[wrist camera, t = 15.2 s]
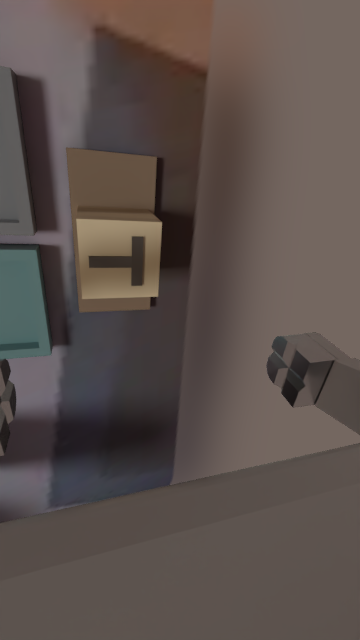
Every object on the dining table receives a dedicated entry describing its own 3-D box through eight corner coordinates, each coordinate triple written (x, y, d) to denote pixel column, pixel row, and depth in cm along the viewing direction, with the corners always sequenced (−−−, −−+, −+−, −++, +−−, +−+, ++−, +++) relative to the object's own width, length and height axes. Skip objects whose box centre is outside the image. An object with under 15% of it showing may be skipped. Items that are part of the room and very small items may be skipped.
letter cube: (77, 205, 21) (76, 219, 17) (147, 209, 22) (162, 222, 18) (82, 272, 23) (82, 300, 19) (145, 272, 25) (158, 297, 20)
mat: (66, 147, 20) (66, 147, 19) (155, 156, 21) (156, 157, 21) (79, 309, 25) (79, 312, 25) (148, 306, 27) (149, 309, 26)
